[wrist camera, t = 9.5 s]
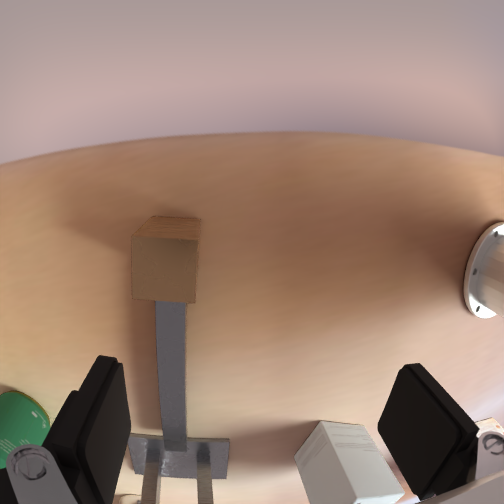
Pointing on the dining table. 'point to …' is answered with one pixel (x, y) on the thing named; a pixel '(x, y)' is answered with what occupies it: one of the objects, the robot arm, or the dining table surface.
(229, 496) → the dining table surface
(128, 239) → the dining table surface
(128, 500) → the beer glass
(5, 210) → the dining table surface
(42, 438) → the beverage can
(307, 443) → the supplement box
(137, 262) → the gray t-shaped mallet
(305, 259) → the dining table surface
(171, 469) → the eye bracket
